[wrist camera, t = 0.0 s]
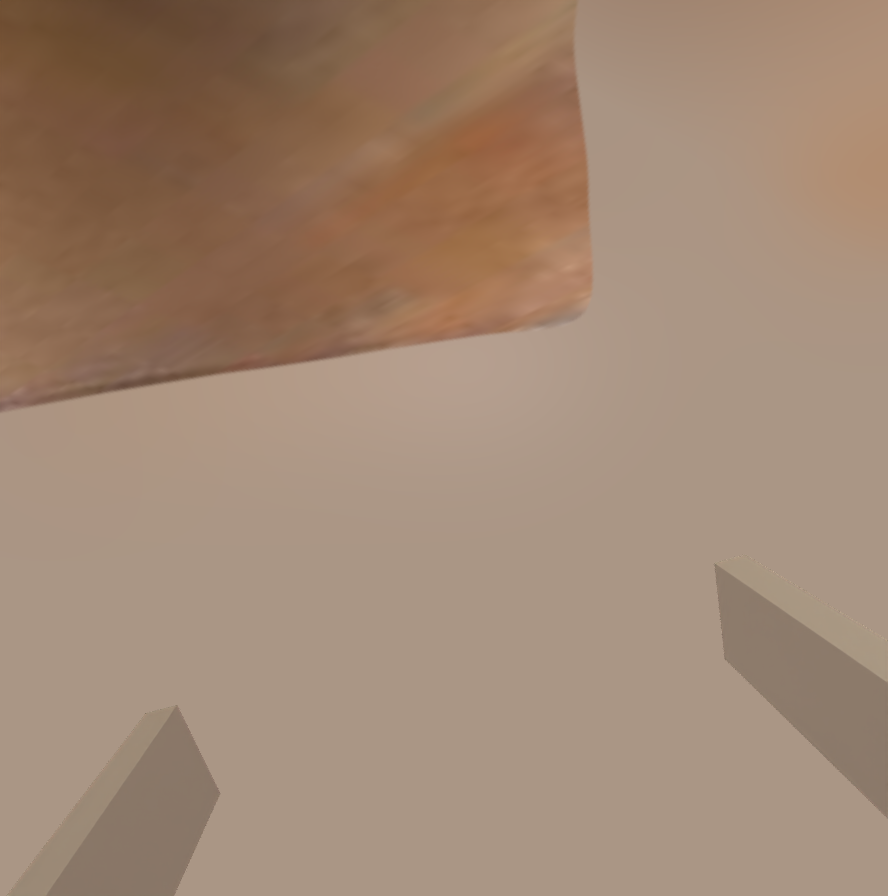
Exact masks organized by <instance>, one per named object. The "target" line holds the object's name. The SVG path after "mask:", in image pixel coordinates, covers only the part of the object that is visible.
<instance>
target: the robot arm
mask: <svg viewBox="0 0 888 896" xmlns="http://www.w3.org/2000/svg"><path fill="white" fill-rule="evenodd" d="M714 564H715V573H716V583H717V592H718V601H719V610H720V620H721V629H722V638H723V647H724V657H725V660H727V662H728V663H730V664H731V666H732V667H733V668H735V669H736V670H737V671H738V672H739V673H740V674H741V675H742V676H743V677H744V678H745V679H746V680H747V681H748V682H749V683H750V684H751V685H752V686H753V687H754V688H755V689H756V690H757V691H758V692H759V693H760V694H761V695H762V696H763V697H764V698H765V699H766V700H767V701H768V702H769V703H770V704H771V705H773V707H774V708H775V709H776V710H778V711H779V712H780V714H782V715H783V716H784V717H785V718H786V719H787V720H788V721H789V722H790V723H791V724H792V725H793V726H794V727H795V728H796V729H797V730H798V731H799V732H800V733H801V734H802V735H803V736H804V737H805V738H806V739H807V740H808V741H809V742H810V743H811V744H812V745H813V746H814V747H815V748H816V749H817V750H818V751H819V752H820V753H821V754H822V755H823V756H824V757H825V758H826V759H827V760H828V761H830V762H831V763H832V764H833V765H834V766H835V767H836V768H837V769H838V770H839V771H840V772H841V773H842V774H843V775H844V776H845V777H846V778H847V779H848V780H849V781H850V782H851V783H852V784H853V785H854V786H855V787H856V788H857V789H858V790H859V791H860V792H861V793H862V794H863V795H864V796H865V797H866V798H867V799H868V800H869V801H870V802H871V803H872V804H874V806H875V807H877V808H878V809H879V810H880V811H881V812H882V813H883V814H884V815H885V816H886V817H887V818H888V640H886V639H885V638H883V637H881V636H880V635H878V634H876V633H875V632H873V631H871V630H870V629H868V628H866V627H865V626H863V625H861V624H860V623H858V622H856V621H855V620H853V619H851V618H850V617H848V616H846V615H845V614H843V613H841V612H840V611H838V610H836V609H835V608H833V607H831V606H830V605H828V604H826V603H825V602H823V601H821V600H819V599H818V598H816V597H815V596H813V595H811V594H809V593H808V592H806V591H805V590H803V589H801V588H800V587H798V586H796V585H795V584H793V583H791V582H790V581H788V580H786V579H785V578H783V577H781V576H780V575H778V574H776V573H775V572H773V571H771V570H770V569H768V568H766V567H765V566H763V565H761V564H760V563H758V562H756V561H755V560H753V559H751V558H750V557H748V556H746V555H743V556H739V557H736V558H732V559H728V560H724V561H720V562H717V563H714ZM219 795H220V792H219V790H218V788H217V786H216V784H215V782H214V780H213V778H212V775H211V773H210V772H209V770H208V767H207V765H206V763H205V761H204V759H203V757H202V755H201V753H200V751H199V749H198V747H197V745H196V743H195V741H194V738H193V736H192V734H191V732H190V730H189V728H188V726H187V724H186V722H185V720H184V718H183V716H182V714H181V712H180V710H179V708H178V706H177V705H176V706H172V707H168V708H165V709H160V710H157V711H153V712H149V713H145V715H144V716H143V717H142V719H141V720H140V721H139V723H138V724H137V725H136V727H135V728H134V729H133V730H132V732H131V733H130V734H129V736H128V737H127V738H126V740H125V741H124V742H123V744H122V745H121V746H120V748H119V749H118V750H117V752H116V753H115V754H114V755H113V757H112V758H111V759H110V761H109V762H108V763H107V765H106V766H105V767H104V768H103V770H102V771H101V772H100V774H99V775H98V776H97V778H96V779H95V780H94V782H93V783H92V784H91V786H90V787H89V788H88V789H87V791H86V792H85V794H84V795H83V796H82V797H81V799H80V800H79V801H78V803H77V804H76V805H75V807H74V808H73V809H72V811H71V812H70V813H69V814H68V816H67V817H66V818H65V820H64V821H63V822H62V824H61V825H60V826H59V828H58V829H57V830H56V831H55V833H54V834H53V835H52V837H51V838H50V839H49V841H48V842H47V843H46V845H45V846H44V847H43V848H42V850H41V851H40V852H39V854H38V855H37V856H36V858H35V859H34V860H33V862H32V863H31V864H30V866H29V867H28V868H27V869H26V871H25V872H24V873H23V875H22V876H21V877H20V879H19V880H18V881H17V883H16V884H15V885H14V887H13V888H12V889H11V890H10V892H9V893H8V894H7V896H174V895H175V893H176V890H177V888H178V886H179V884H180V881H181V879H182V877H183V875H184V873H185V870H186V868H187V866H188V864H189V862H190V859H191V857H192V855H193V853H194V850H195V848H196V846H197V844H198V842H199V839H200V837H201V835H202V833H203V830H204V828H205V826H206V824H207V821H208V819H209V817H210V815H211V813H212V811H213V808H214V806H215V804H216V802H217V800H218V797H219Z"/></svg>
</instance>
